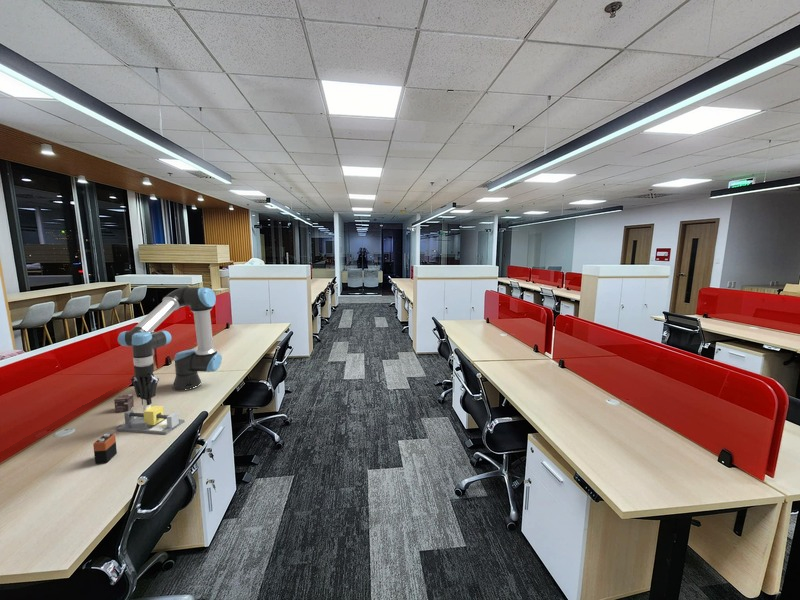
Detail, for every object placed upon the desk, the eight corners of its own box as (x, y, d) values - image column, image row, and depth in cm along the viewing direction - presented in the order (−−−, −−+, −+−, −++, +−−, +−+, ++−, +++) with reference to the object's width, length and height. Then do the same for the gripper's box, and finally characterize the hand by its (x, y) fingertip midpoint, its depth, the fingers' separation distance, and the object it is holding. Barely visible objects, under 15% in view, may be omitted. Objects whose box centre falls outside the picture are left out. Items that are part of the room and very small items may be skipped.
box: (114, 412, 174) (113, 399, 173) (121, 407, 180) (120, 395, 179) (128, 411, 175) (127, 398, 174) (134, 406, 181) (133, 394, 180)
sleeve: (154, 418, 164) (153, 405, 163) (164, 419, 164) (163, 406, 163) (144, 424, 158) (143, 411, 157) (154, 425, 158) (153, 411, 157)
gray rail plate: (138, 418, 168) (137, 406, 167) (184, 421, 166) (183, 409, 166) (116, 430, 156) (115, 417, 156) (165, 434, 155) (165, 421, 154)
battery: (117, 453, 139) (115, 431, 138) (107, 463, 133) (105, 440, 131) (105, 454, 138) (103, 432, 137) (94, 464, 132) (92, 441, 130)
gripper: (124, 366, 154) (128, 413, 157) (149, 367, 153) (153, 415, 156) (138, 361, 162) (141, 406, 165) (162, 362, 161) (165, 408, 164)
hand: (147, 410), depth 160 cm, fingers closed
